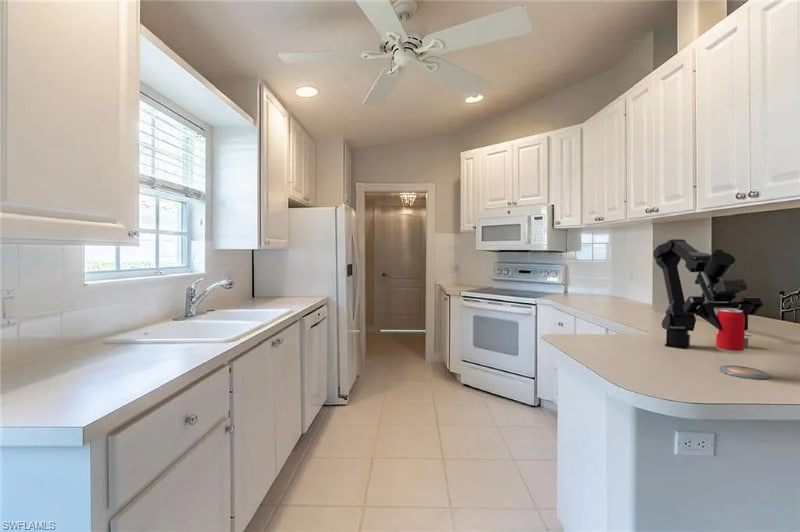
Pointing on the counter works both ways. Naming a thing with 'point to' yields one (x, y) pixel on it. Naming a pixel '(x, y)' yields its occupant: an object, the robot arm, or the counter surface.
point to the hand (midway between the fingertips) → (733, 329)
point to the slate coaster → (744, 372)
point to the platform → (746, 340)
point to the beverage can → (730, 330)
